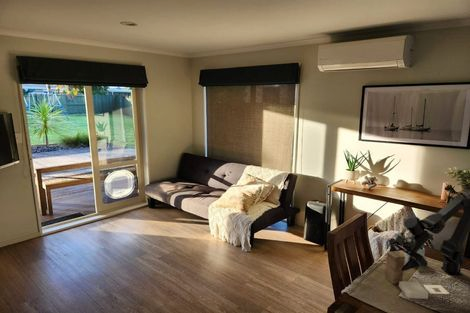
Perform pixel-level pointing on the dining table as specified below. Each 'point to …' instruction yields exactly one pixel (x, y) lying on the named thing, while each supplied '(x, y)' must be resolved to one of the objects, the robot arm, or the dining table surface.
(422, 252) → the medicine box
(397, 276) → the brown tall block
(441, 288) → the card
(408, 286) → the base block
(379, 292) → the dining table surface
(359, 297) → the dining table surface
